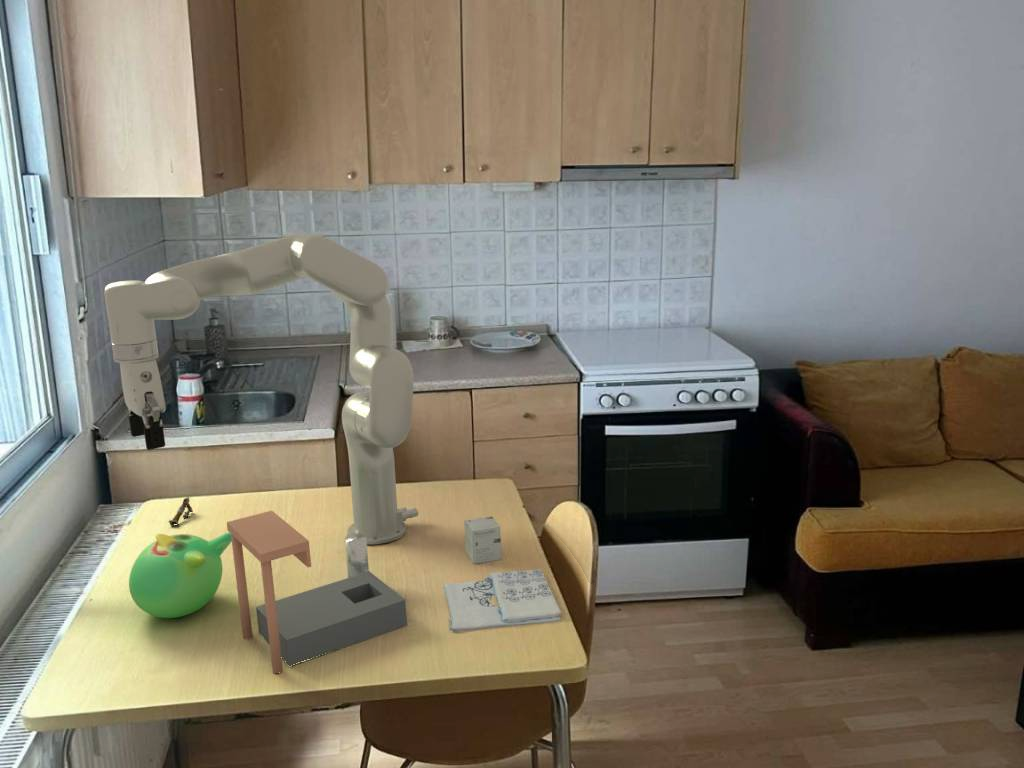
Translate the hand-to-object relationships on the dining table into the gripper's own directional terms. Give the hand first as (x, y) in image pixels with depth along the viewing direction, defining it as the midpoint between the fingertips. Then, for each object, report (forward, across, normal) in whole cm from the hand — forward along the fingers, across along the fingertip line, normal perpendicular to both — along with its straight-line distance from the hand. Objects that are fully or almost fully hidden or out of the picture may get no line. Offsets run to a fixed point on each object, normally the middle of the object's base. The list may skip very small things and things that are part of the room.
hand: (148, 441), depth 174 cm
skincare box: (+31, -25, -56) cm, 69 cm away
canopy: (+31, -32, -9) cm, 45 cm away
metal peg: (+31, -20, -30) cm, 48 cm away
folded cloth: (+32, -42, -48) cm, 71 cm away
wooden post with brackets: (+31, +35, -13) cm, 49 cm away
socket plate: (+31, -32, -19) cm, 48 cm away
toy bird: (+31, -8, 0) cm, 32 cm away
